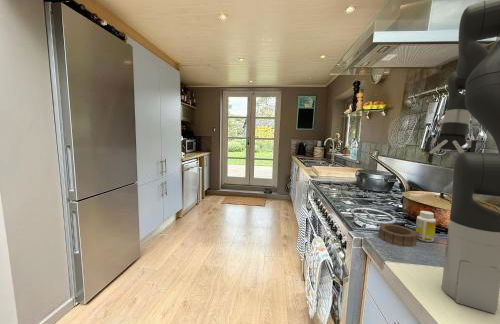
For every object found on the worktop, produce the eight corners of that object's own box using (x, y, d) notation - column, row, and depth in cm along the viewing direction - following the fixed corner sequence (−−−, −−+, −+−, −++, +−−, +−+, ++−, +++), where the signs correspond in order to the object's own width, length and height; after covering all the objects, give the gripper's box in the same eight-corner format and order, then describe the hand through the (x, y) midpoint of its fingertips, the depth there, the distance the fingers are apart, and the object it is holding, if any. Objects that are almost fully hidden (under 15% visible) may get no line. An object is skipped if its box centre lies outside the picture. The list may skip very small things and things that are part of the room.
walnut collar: (417, 249, 74) (418, 239, 73) (379, 241, 79) (379, 231, 79) (413, 237, 84) (413, 228, 83) (378, 230, 89) (379, 222, 89)
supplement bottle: (435, 240, 82) (438, 213, 81) (431, 244, 78) (434, 215, 77) (417, 234, 86) (419, 209, 85) (412, 238, 83) (415, 211, 82)
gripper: (430, 120, 86) (419, 161, 86) (482, 122, 75) (470, 168, 76) (432, 124, 91) (423, 163, 92) (482, 127, 81) (471, 170, 81)
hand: (444, 165), depth 84 cm, fingers open, 8 cm apart
